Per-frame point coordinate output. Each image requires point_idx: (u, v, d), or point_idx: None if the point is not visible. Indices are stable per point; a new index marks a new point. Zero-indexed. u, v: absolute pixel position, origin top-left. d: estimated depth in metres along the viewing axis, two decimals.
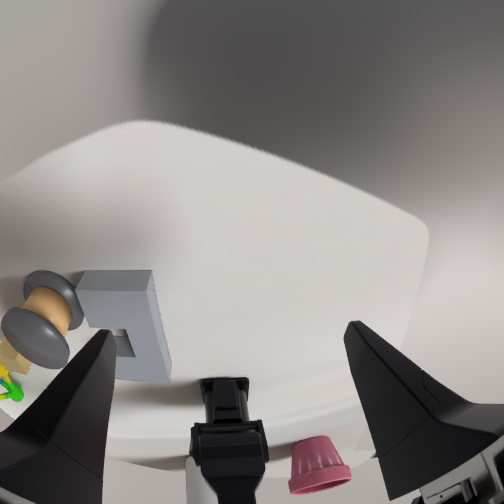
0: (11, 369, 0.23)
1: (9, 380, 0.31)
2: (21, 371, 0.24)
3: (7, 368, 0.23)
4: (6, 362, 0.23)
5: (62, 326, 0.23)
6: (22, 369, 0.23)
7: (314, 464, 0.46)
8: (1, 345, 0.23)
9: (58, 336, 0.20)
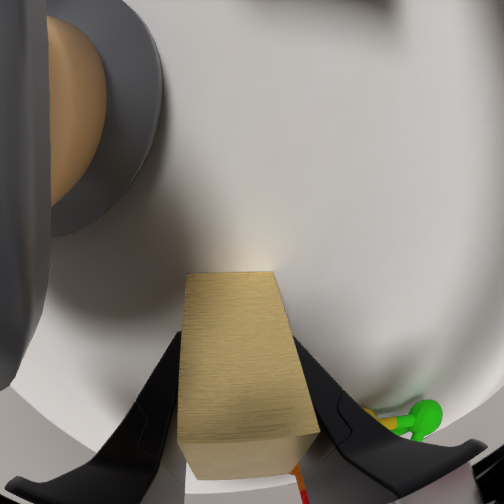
0: (282, 465, 0.06)
1: (392, 422, 0.17)
2: (292, 444, 0.05)
3: (280, 471, 0.07)
4: (237, 470, 0.06)
5: None
6: (272, 441, 0.05)
7: None
8: None
9: None
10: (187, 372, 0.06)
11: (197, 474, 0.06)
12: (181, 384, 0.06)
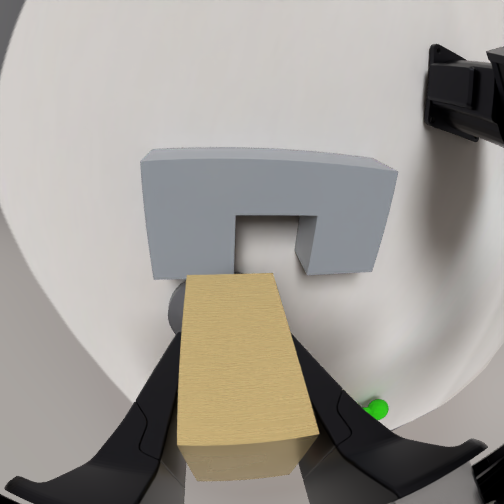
0: (281, 466, 0.06)
1: None
2: (291, 446, 0.05)
3: (280, 472, 0.07)
4: (237, 471, 0.06)
5: None
6: (271, 443, 0.05)
7: None
8: None
9: None
10: (187, 374, 0.06)
11: (197, 475, 0.06)
12: (181, 386, 0.06)
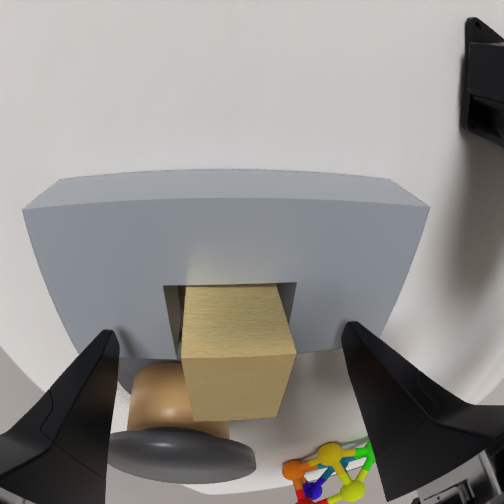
0: (268, 401, 0.09)
1: (352, 452, 0.27)
2: (274, 368, 0.07)
3: (267, 411, 0.09)
4: (230, 405, 0.08)
5: (168, 405, 0.12)
6: (257, 359, 0.07)
7: None
8: None
9: (134, 440, 0.09)
10: (190, 307, 0.08)
11: (194, 410, 0.08)
12: (185, 316, 0.08)
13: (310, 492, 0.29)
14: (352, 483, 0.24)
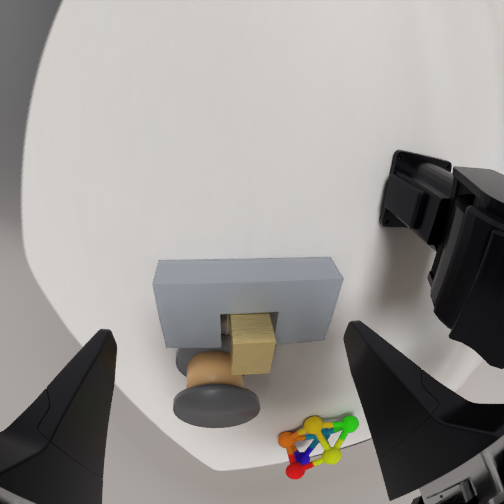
0: (265, 363, 0.21)
1: (330, 424, 0.39)
2: (267, 347, 0.20)
3: (265, 369, 0.21)
4: (249, 365, 0.21)
5: (213, 373, 0.24)
6: (261, 343, 0.19)
7: None
8: (230, 356, 0.22)
9: (199, 389, 0.21)
10: (234, 324, 0.21)
11: (233, 368, 0.21)
12: (232, 327, 0.20)
13: (300, 459, 0.41)
14: (331, 449, 0.36)
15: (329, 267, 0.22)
